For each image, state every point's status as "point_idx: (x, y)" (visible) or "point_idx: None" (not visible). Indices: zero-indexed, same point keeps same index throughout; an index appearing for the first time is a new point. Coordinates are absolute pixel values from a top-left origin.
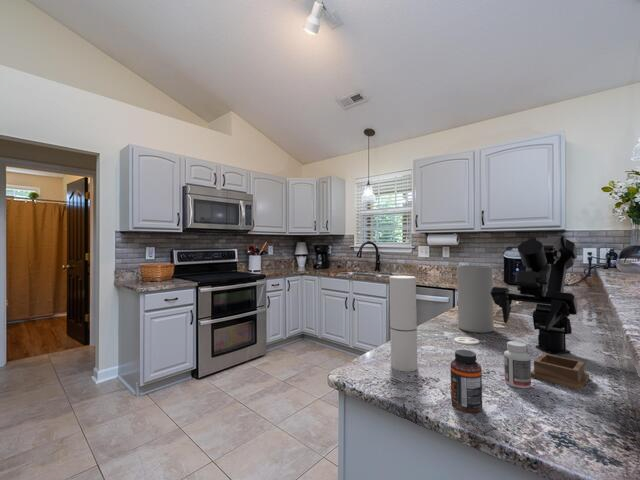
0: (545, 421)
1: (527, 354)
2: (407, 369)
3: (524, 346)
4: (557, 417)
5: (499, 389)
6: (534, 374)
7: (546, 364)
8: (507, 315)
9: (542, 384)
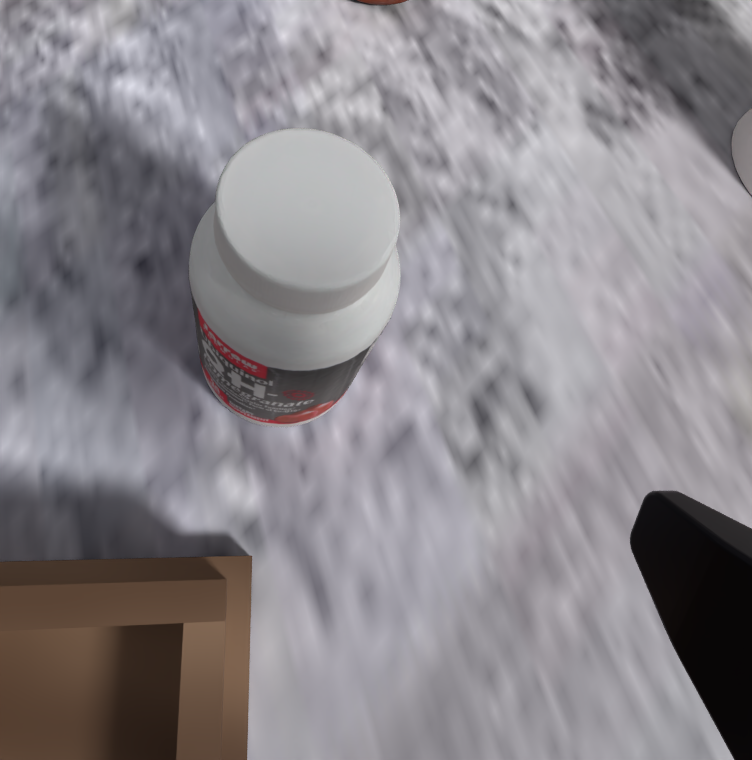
0: (61, 16)
1: (210, 257)
2: (747, 112)
3: (224, 168)
4: (16, 82)
5: None
6: (220, 557)
7: (117, 583)
8: (744, 646)
9: (151, 474)
